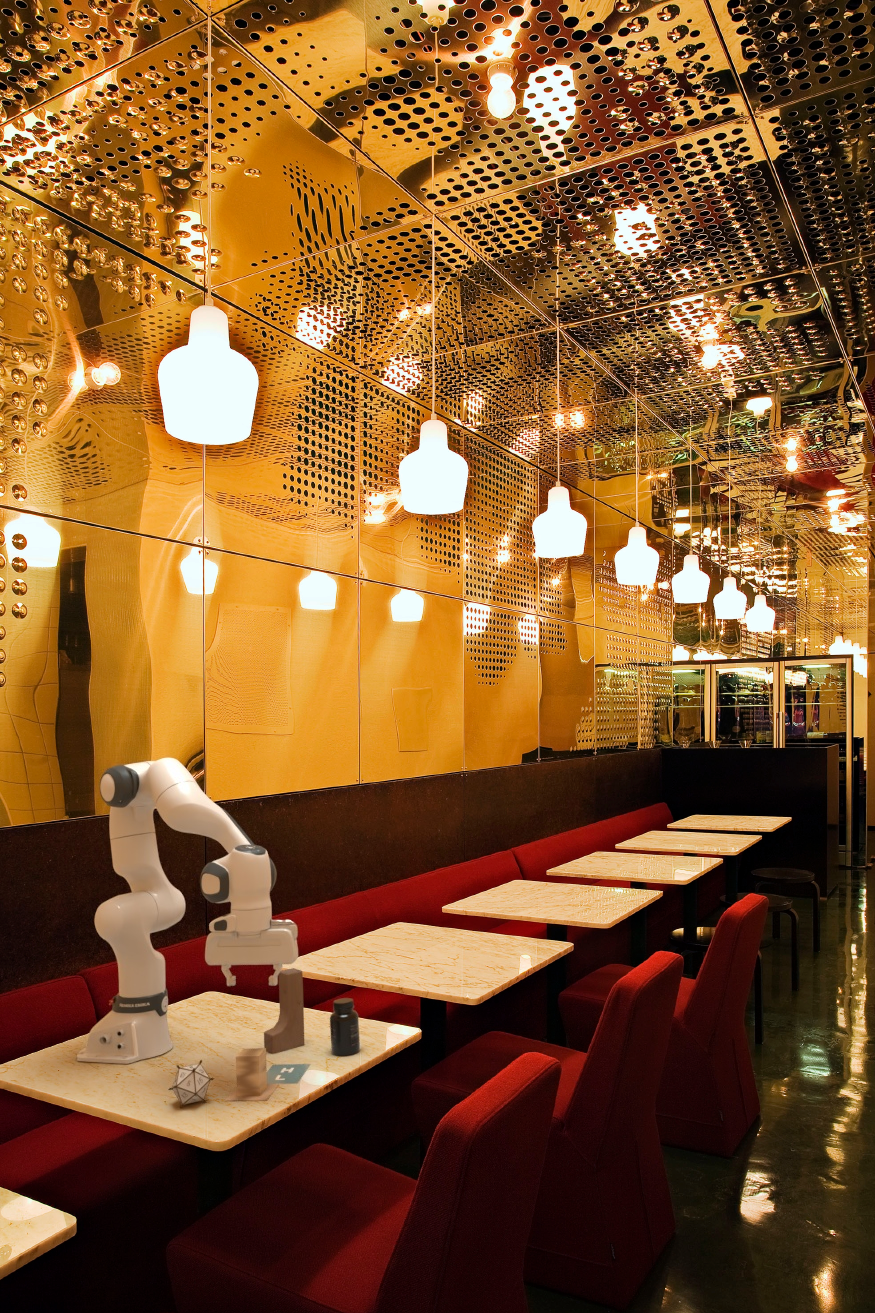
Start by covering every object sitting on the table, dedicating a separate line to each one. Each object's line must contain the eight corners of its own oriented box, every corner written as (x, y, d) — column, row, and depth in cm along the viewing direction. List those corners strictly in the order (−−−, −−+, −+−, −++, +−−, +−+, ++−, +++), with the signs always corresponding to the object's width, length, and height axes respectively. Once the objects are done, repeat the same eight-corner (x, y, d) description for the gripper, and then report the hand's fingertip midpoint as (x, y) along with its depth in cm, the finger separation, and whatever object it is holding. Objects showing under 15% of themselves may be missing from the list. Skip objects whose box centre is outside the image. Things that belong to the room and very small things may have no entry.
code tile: (257, 1085, 189) (257, 1084, 189) (272, 1065, 201) (272, 1064, 201) (297, 1084, 188) (297, 1083, 188) (310, 1065, 200) (310, 1064, 200)
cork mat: (224, 1102, 180) (224, 1100, 180) (238, 1086, 189) (238, 1084, 189) (267, 1102, 179) (266, 1100, 179) (278, 1085, 188) (278, 1083, 188)
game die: (181, 1125, 179) (152, 1085, 180) (210, 1096, 186) (181, 1058, 187) (201, 1111, 174) (171, 1071, 175) (230, 1082, 181) (200, 1043, 182)
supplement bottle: (354, 1046, 212) (352, 995, 214) (364, 1054, 206) (362, 1001, 207) (327, 1051, 209) (325, 999, 211) (336, 1059, 203) (334, 1006, 204)
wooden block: (272, 1055, 208) (270, 977, 211) (263, 1051, 212) (261, 974, 214) (305, 1046, 214) (303, 970, 216) (296, 1042, 218) (294, 967, 220)
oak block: (236, 1096, 182) (235, 1056, 183) (244, 1087, 187) (243, 1048, 188) (260, 1096, 182) (259, 1056, 183) (266, 1087, 187) (265, 1048, 187)
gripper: (301, 916, 194) (302, 981, 192) (212, 918, 196) (212, 982, 194) (293, 922, 188) (294, 988, 186) (202, 924, 190) (202, 989, 188)
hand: (252, 985), depth 190 cm, fingers open, 8 cm apart
